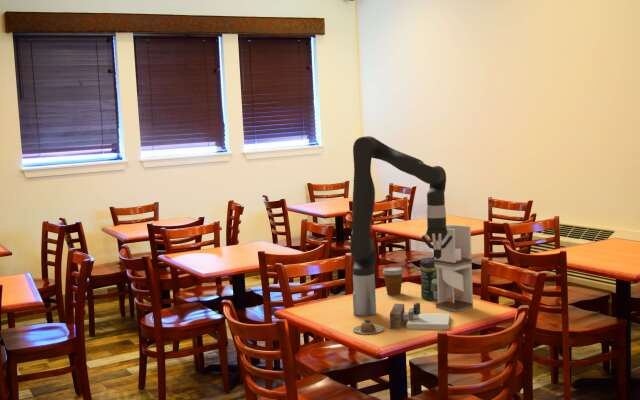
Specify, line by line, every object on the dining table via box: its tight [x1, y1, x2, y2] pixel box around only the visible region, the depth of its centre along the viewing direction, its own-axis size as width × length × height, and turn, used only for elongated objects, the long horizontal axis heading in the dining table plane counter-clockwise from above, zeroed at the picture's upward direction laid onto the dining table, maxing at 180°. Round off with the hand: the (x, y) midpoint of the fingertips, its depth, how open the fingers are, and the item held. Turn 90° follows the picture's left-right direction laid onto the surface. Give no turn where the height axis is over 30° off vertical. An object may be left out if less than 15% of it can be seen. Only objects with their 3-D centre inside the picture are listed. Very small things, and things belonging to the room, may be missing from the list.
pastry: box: [352, 319, 384, 335], centre depth 305 cm, size 12×12×5 cm
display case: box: [433, 223, 474, 313], centre depth 331 cm, size 11×11×35 cm
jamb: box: [389, 303, 406, 330], centre depth 313 cm, size 4×16×6 cm, turn 168°
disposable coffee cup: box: [382, 266, 404, 297], centre depth 362 cm, size 10×10×12 cm
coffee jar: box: [419, 256, 438, 302], centre depth 349 cm, size 10×8×19 cm
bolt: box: [402, 302, 421, 320], centre depth 312 cm, size 11×3×6 cm, turn 78°
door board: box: [406, 307, 451, 330], centre depth 310 cm, size 16×16×6 cm
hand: (437, 258), depth 313 cm, fingers closed
